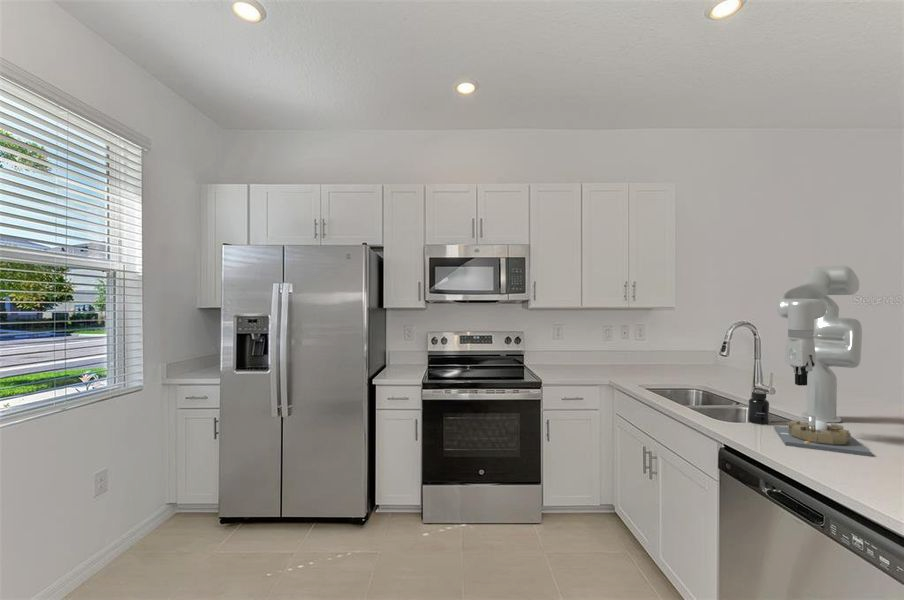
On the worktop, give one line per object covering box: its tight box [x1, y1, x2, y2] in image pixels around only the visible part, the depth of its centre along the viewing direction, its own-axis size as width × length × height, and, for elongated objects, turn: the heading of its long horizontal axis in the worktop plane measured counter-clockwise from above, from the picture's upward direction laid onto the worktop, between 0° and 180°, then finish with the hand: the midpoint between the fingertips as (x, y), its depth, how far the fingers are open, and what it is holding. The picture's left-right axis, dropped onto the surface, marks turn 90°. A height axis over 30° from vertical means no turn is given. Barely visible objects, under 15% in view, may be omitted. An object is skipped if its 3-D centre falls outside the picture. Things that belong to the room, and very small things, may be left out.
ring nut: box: [788, 416, 851, 445], centre depth 156 cm, size 16×16×8 cm
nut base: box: [773, 420, 873, 457], centre depth 156 cm, size 22×22×7 cm
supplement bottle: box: [747, 391, 770, 426], centre depth 180 cm, size 7×7×12 cm
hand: (801, 384), depth 163 cm, fingers closed
